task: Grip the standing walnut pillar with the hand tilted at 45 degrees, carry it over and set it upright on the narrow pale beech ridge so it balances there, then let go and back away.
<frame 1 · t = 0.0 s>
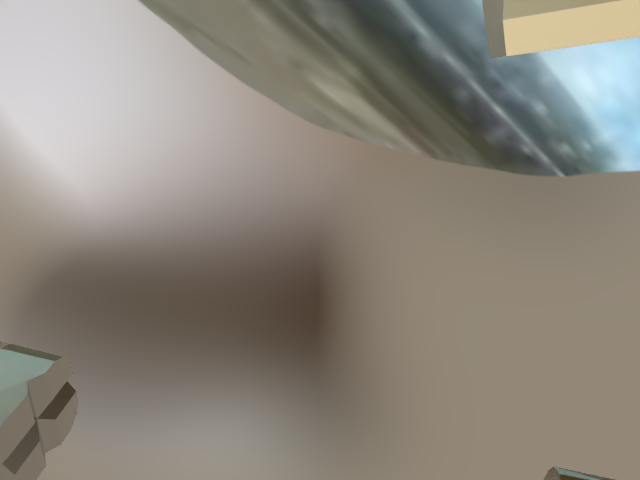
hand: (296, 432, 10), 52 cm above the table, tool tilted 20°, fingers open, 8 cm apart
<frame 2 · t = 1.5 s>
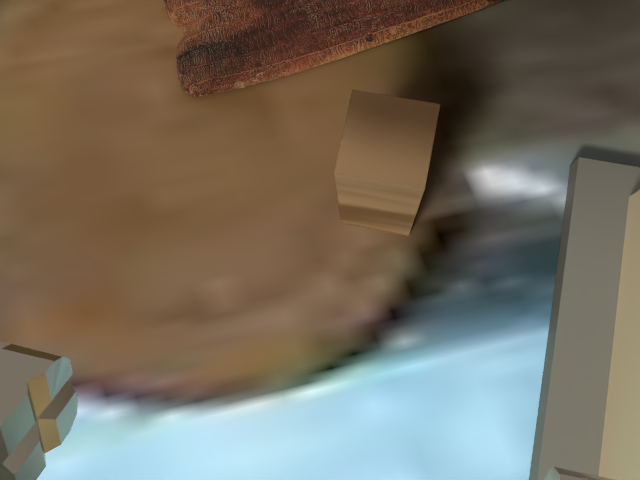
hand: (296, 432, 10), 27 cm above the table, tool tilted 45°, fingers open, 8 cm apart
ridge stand: (633, 351, 36), on the table
walnut pillar: (381, 197, 39), on the table
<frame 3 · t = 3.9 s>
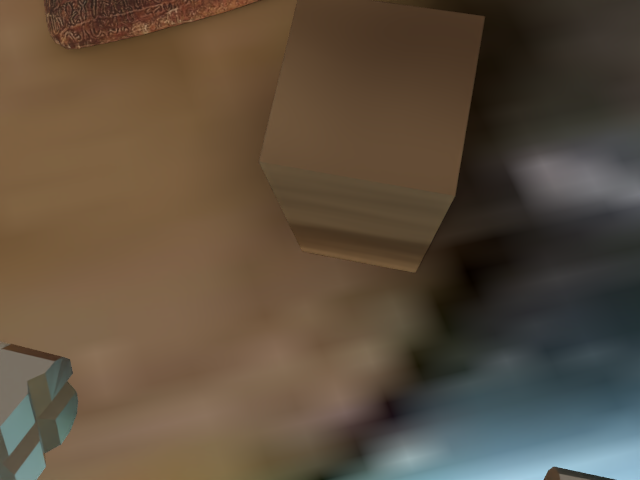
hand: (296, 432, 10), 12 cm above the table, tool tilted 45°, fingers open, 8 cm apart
walnut pillar: (368, 207, 23), on the table
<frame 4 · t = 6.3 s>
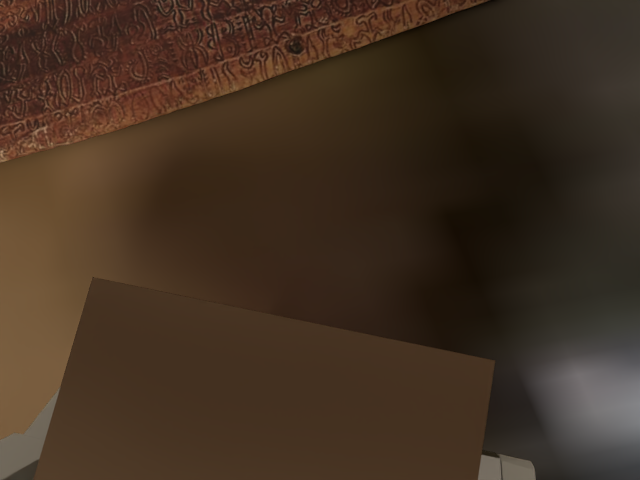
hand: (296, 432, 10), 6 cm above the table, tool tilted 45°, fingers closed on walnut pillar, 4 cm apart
walnut pillar: (316, 436, 16), on the table, touching gripper
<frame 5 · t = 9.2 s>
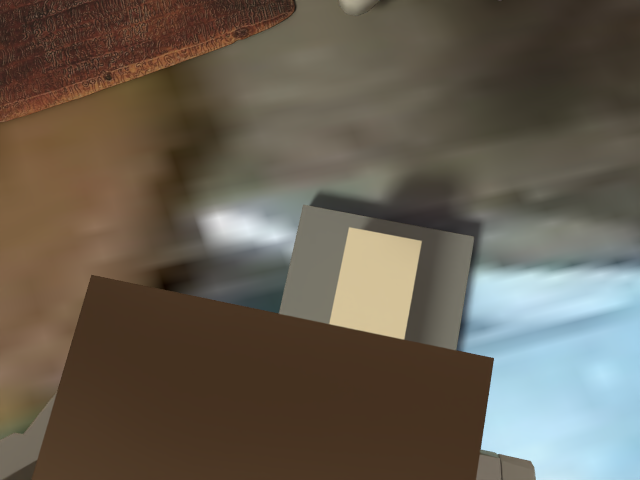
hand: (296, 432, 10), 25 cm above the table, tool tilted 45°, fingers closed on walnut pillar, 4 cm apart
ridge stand: (350, 412, 34), on the table
walnut pillar: (316, 435, 16), point 19 cm above the table, touching gripper
wooden tablet: (101, 33, 41), on the table
when the fingers open (13 cm above the table, at t = 12.4 s): walnut pillar stays where it is, resting on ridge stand.
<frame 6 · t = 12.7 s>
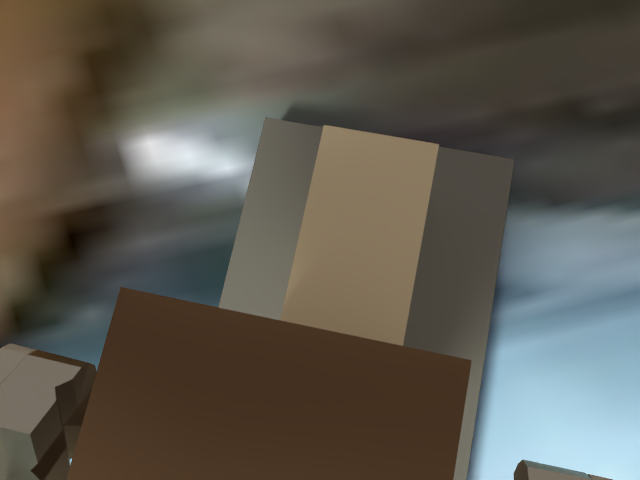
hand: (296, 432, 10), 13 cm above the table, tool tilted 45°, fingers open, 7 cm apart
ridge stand: (332, 417, 23), on the table
walnut pillar: (316, 431, 17), point 7 cm above the table, touching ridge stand
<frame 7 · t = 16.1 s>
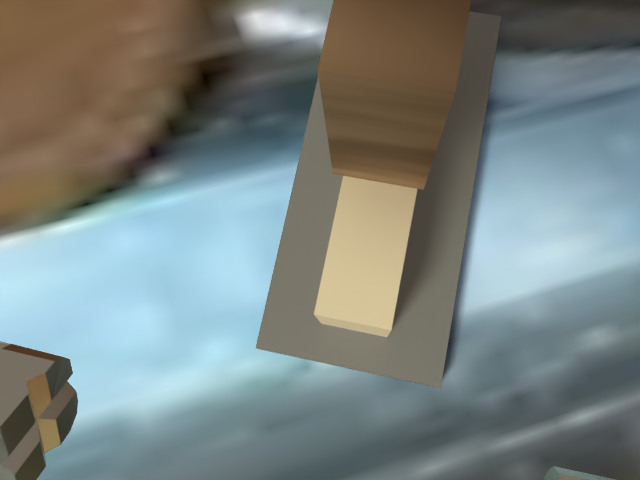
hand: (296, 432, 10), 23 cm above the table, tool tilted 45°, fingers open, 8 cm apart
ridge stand: (383, 182, 35), on the table
walnut pillar: (386, 139, 29), point 6 cm above the table, touching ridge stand
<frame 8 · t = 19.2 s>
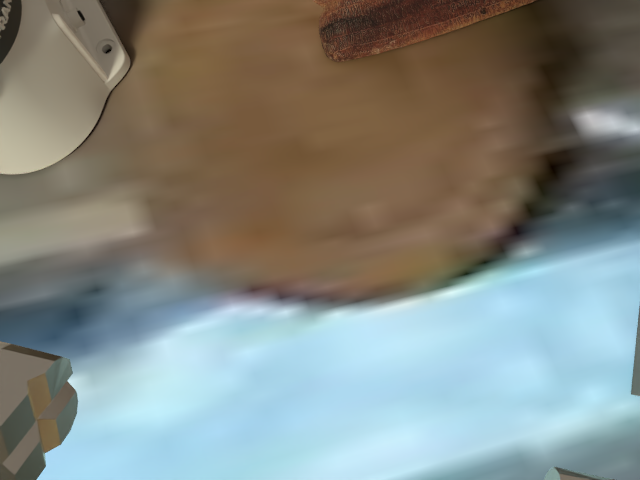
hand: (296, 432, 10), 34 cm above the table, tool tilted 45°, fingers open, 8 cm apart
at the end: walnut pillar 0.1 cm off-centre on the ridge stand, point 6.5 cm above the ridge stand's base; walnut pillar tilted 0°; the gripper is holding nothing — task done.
